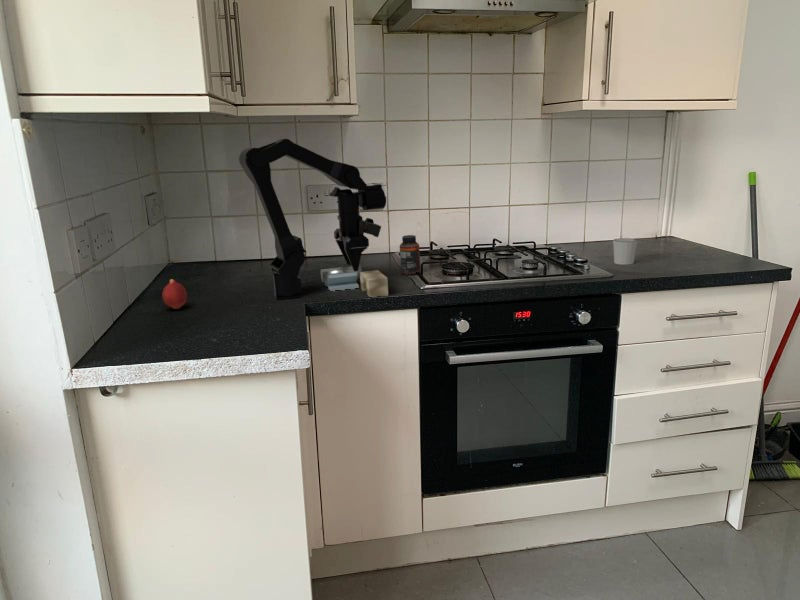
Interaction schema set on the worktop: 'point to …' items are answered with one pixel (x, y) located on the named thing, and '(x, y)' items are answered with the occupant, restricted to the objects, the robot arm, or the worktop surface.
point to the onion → (174, 295)
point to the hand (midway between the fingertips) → (352, 267)
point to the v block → (342, 281)
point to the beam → (374, 283)
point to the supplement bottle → (409, 255)
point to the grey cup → (624, 250)
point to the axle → (338, 272)
